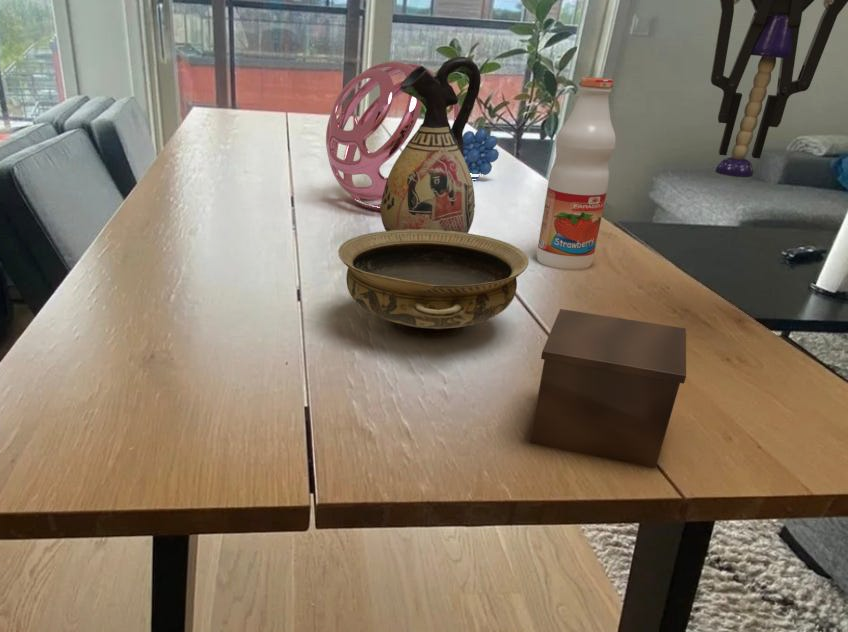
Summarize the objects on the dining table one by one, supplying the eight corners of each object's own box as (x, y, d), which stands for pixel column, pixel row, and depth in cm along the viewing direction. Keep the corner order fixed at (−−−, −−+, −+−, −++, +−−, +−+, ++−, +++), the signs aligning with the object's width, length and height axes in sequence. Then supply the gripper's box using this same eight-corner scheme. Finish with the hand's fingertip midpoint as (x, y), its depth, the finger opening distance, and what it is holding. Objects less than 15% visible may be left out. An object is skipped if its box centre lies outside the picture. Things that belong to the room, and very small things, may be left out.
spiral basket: (440, 94, 168) (364, 9, 147) (516, 148, 152) (444, 61, 131) (360, 199, 176) (278, 134, 155) (424, 261, 160) (343, 197, 139)
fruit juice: (572, 253, 136) (605, 76, 121) (602, 269, 128) (642, 82, 113) (525, 256, 133) (553, 74, 118) (554, 272, 125) (588, 81, 111)
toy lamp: (743, 171, 95) (786, 14, 87) (765, 178, 92) (813, 15, 83) (708, 170, 95) (748, 13, 86) (729, 178, 91) (774, 13, 82)
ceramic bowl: (340, 287, 114) (341, 218, 109) (499, 294, 115) (509, 226, 109) (331, 370, 89) (333, 285, 83) (537, 378, 89) (551, 295, 84)
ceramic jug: (390, 270, 123) (403, 57, 107) (370, 243, 135) (379, 49, 119) (490, 268, 126) (517, 61, 110) (461, 242, 139) (482, 53, 123)
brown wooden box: (661, 416, 82) (686, 328, 77) (658, 472, 72) (686, 375, 67) (544, 394, 86) (560, 308, 80) (525, 445, 75) (542, 351, 70)
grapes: (498, 180, 189) (505, 128, 183) (493, 185, 184) (500, 131, 177) (452, 175, 192) (457, 123, 186) (446, 180, 187) (451, 126, 180)
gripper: (884, -83, 81) (808, 156, 93) (721, -84, 85) (669, 144, 97) (900, -91, 74) (816, 166, 87) (724, -92, 79) (668, 153, 91)
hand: (739, 154), depth 92 cm, fingers closed on toy lamp, 3 cm apart
